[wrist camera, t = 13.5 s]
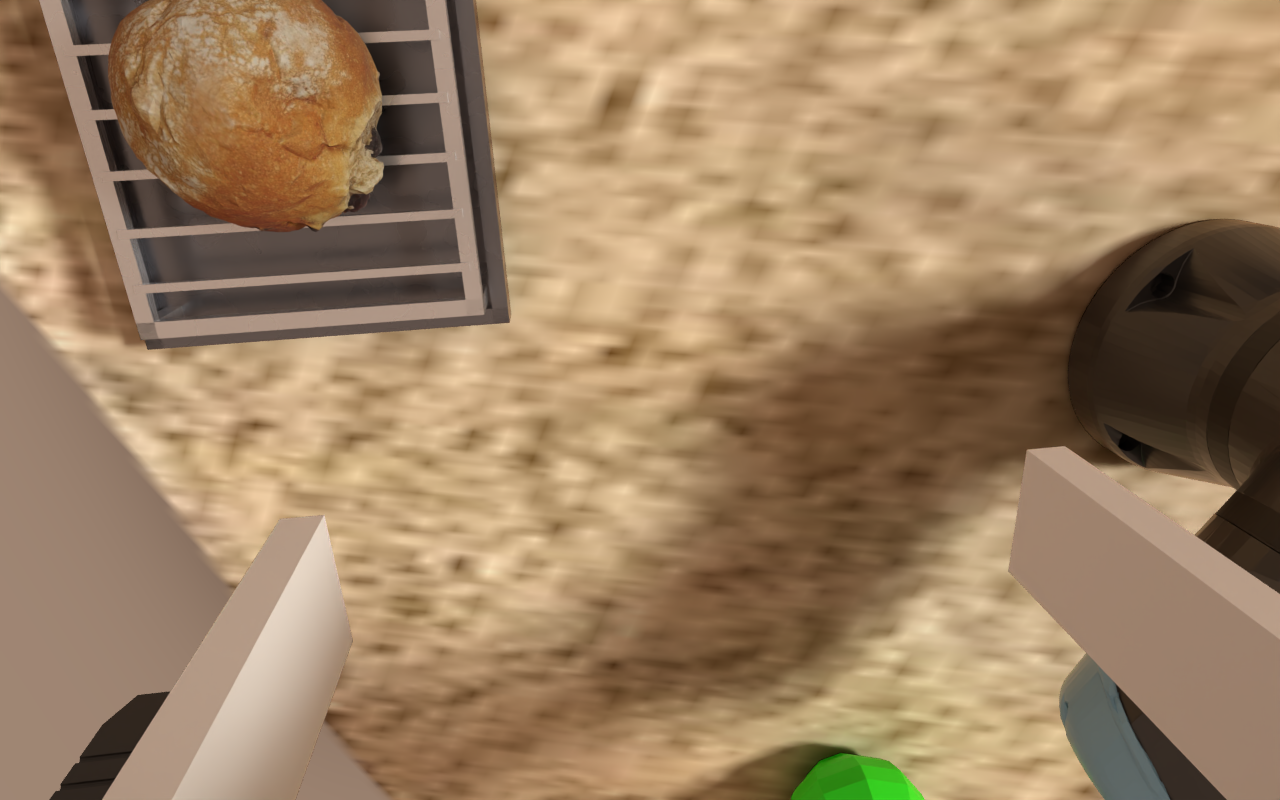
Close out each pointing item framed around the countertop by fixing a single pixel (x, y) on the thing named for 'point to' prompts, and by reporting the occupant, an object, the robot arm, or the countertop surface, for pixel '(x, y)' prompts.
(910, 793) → the plastic bottle
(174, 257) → the cooling rack
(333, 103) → the bread roll
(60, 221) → the countertop surface
